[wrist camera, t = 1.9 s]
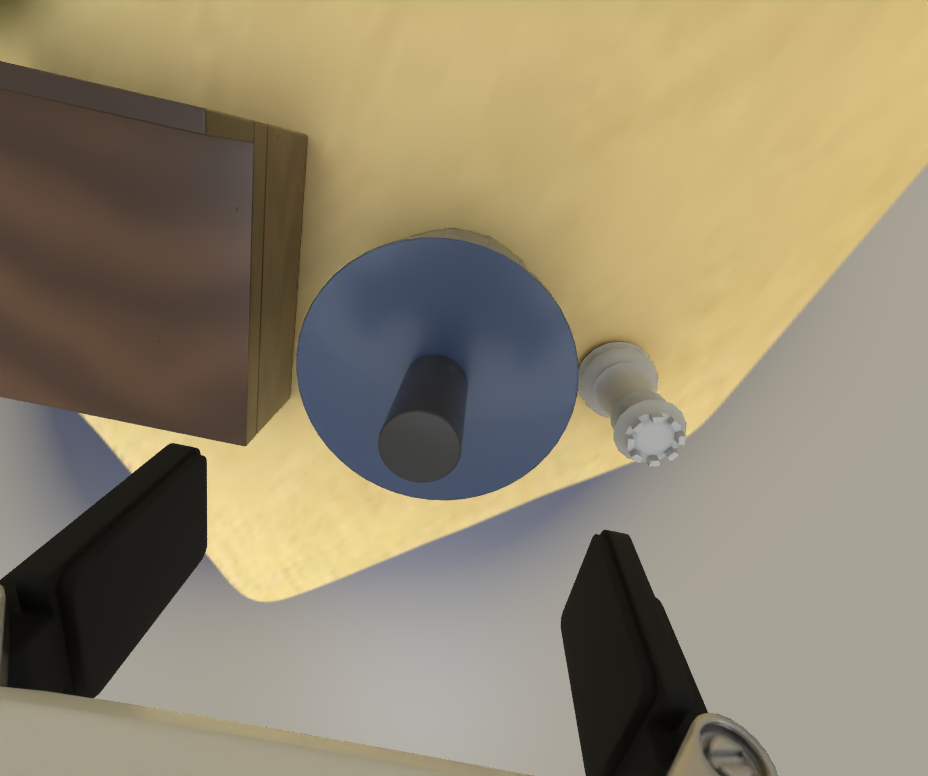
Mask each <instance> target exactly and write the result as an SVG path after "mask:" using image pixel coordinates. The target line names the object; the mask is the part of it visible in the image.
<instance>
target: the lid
mask: <svg viewBox="0 0 928 776" xmlns="http://www.w3.org/2000/svg"><path fill="white" fill-rule="evenodd" d="M297 378H298V385H299V391H300V394H301V398H302V401H303V405H304V407H305V410H306V412H307V414H308V417H309V419H310V421H311V423H312V425H313V426H314V428H315V430H316V431H317V433H318V435H319V436H320V438H321V439H322V440H323V441H324V443H325V444H326V445H327V447H328V448H329V449H330V450H331V451H332V452H333V453H334V454H335V455H336V456H337V457H338V458H339V460H341V461H342V462H343V463H344V464H345V465H347V466H348V467H349V468H350V469H351V470H353V471H354V472H356V473H357V474H359V475H360V476H362V477H363V478H365V479H366V480H368V481H370V482H372V483H374V484H376V485H378V486H380V487H382V488H385V489H387V490H390V491H393V492H395V493H399V494H402V495H406V496H410V497H415V498H422V499H428V500H457V499H466V498H471V497H477V496H480V495H484V494H487V493H490V492H494V491H496V490H498V489H501V488H503V487H505V486H508V485H510V484H511V483H513V482H515V481H516V480H518V479H520V478H522V477H523V476H525V475H526V474H527V473H528V472H530V471H531V470H532V469H534V468H535V467H536V466H537V465H538V464H539V463H540V462H541V461H542V460H543V459H544V458H545V457H546V456H547V455H548V454H549V453H550V452H551V450H552V449H553V448H554V446H555V445H556V444H557V443H558V441H559V439H560V438H561V436H562V434H563V432H564V431H565V429H566V427H567V425H568V422H569V420H570V417H571V415H572V413H573V409H574V405H575V401H576V397H577V390H578V381H579V372H578V358H577V352H576V346H575V342H574V339H573V336H572V333H571V330H570V327H569V325H568V323H567V321H566V319H565V317H564V315H563V312H562V310H561V309H560V307H559V305H558V304H557V302H556V301H555V299H554V298H553V297H552V295H551V294H550V292H549V291H548V290H547V289H546V287H545V286H544V285H543V284H542V283H541V282H540V281H539V280H538V279H537V278H536V277H535V276H534V275H533V274H532V273H531V272H529V271H528V270H527V269H526V268H525V267H524V266H522V265H521V264H520V263H518V262H516V261H515V260H513V259H512V258H510V257H508V256H507V255H505V254H504V253H501V252H499V251H497V250H495V249H493V248H490V247H488V246H486V245H483V244H480V243H476V242H473V241H469V240H466V239H460V238H453V237H447V236H421V237H413V238H405V239H401V240H397V241H394V242H390V243H386V244H384V245H382V246H379V247H377V248H374V249H372V250H370V251H368V252H366V253H364V254H363V255H361V256H359V257H358V258H356V259H354V260H353V261H351V262H349V263H348V264H347V265H346V266H344V267H343V268H342V269H341V270H340V271H338V272H337V273H336V274H335V275H334V276H333V277H332V278H331V279H330V280H329V281H328V282H327V284H326V285H325V286H324V287H323V288H322V289H321V291H320V292H319V294H318V295H317V297H316V298H315V300H314V301H313V303H312V304H311V307H310V309H309V311H308V313H307V315H306V317H305V319H304V322H303V326H302V329H301V333H300V336H299V341H298V348H297Z"/></svg>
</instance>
